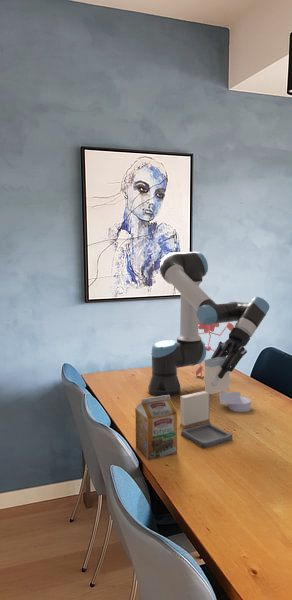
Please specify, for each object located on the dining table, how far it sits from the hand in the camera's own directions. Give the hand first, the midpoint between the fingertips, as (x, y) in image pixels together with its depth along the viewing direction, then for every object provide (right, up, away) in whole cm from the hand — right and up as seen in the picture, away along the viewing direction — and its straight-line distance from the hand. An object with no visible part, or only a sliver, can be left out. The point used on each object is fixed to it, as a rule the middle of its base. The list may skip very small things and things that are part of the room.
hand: (209, 382), depth 173 cm
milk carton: (-20, -21, -13) cm, 32 cm away
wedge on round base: (+14, -15, +27) cm, 34 cm away
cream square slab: (-4, -18, +9) cm, 20 cm away
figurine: (+9, -9, +75) cm, 76 cm away
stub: (+3, -3, +3) cm, 5 cm away
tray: (-1, -19, -3) cm, 20 cm away
